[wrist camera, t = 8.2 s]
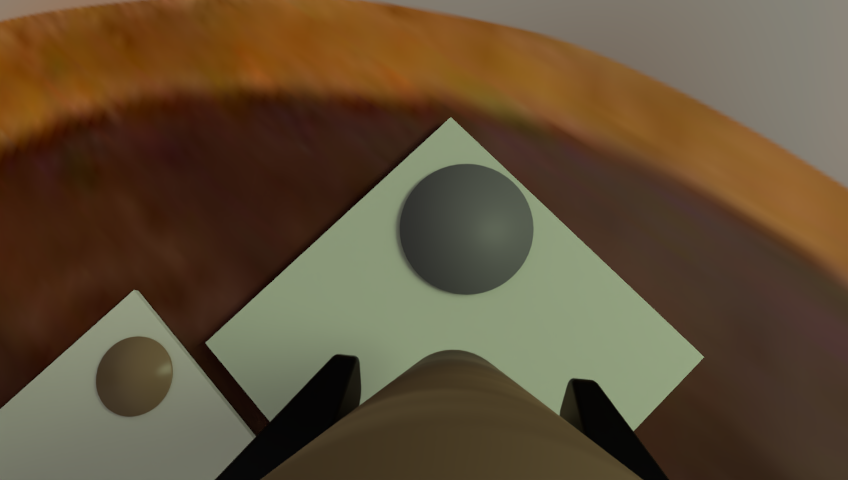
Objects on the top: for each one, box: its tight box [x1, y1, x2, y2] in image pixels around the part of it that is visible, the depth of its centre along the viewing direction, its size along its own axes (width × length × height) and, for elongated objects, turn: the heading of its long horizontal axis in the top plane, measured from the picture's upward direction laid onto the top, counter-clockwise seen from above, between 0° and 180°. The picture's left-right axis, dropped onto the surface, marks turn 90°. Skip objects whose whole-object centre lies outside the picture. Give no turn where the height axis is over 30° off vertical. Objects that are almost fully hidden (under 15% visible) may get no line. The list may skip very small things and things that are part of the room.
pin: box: [260, 350, 643, 480], centre depth 8 cm, size 4×4×13 cm
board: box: [206, 117, 704, 431], centre depth 20 cm, size 14×14×1 cm
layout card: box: [0, 290, 256, 480], centre depth 20 cm, size 10×10×1 cm
